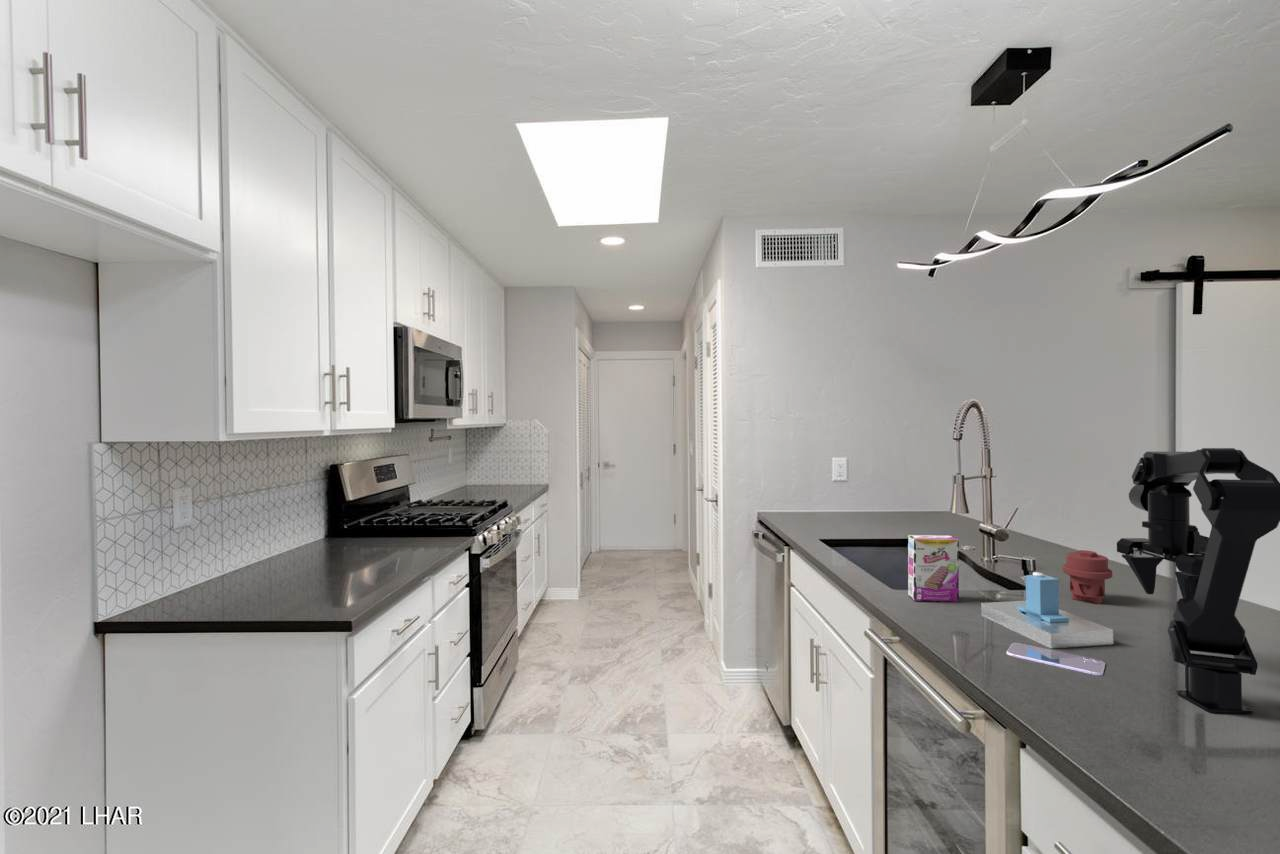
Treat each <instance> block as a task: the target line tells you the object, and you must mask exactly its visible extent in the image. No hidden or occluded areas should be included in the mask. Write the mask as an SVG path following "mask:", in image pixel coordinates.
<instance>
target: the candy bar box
mask: <svg viewBox="0 0 1280 854" xmlns="http://www.w3.org/2000/svg"><path fill="white" fill-rule="evenodd" d="M959 541H960V540H959V539H958V538H956V537H954V536H952V535H938V534H937V535H936V534H935V535H934V534H933V535H932V534H930V535H929V534H927V535H925V534H921V535H920V534H908V535H907V564H908V565H907V567H908V568H907V595H908V597H909V598H910V597H911V598H910V599H912V601H914V602H936V601H940V602H944V603H945V602H946V603H947V602H949V603H952V602H953V603H959V597H960V595H959V593H960V592H959V591H960V590H959V589H960V586H959V584H960V583H959V581H960V579H959V577H960V576H959V575H960V572H959V571H960V570H959V569H960V568H959V567H960V565H959V564H960V562H959V561H960V559H959V556H960V549H959V547H960V544H959V543H960V542H959Z"/></svg>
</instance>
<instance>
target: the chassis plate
mask: <svg viewBox="0 0 1280 854" xmlns="http://www.w3.org/2000/svg"><path fill="white" fill-rule="evenodd" d="M980 605H981V606H980V607H981V608H980V609H981V611H980V614H981V617H983V618H985V619H987V620H989V621H991V622H994V623H996V624H998V625H1000V626H1002V627H1005V628H1007V629H1008V630H1010V631H1013V632H1015V633H1017V634H1018V635H1021V636H1024V637H1025V638H1028V639H1029V640H1032V641H1034V642H1036V643H1038V644H1040V645H1043V646H1045V647H1047V648H1048V649H1050V650H1053V649H1063V648H1064V649H1065V648H1078V647H1079V648H1080V647H1081V648H1082V647H1092V646H1093V647H1094V646H1107V645H1108V646H1109V645H1114V629H1112V628H1109V627H1107V626H1104V625H1102V624H1098V623H1097V622H1093V621H1091V620H1088V619H1086V618H1083V617H1081V616H1078V615H1075V614H1073V613H1070V612H1068V611H1064V610H1062V609H1061V608H1059V614H1061V615H1063V616H1066V617H1068V618H1069V621H1068V622H1053V623H1050V622H1047V621H1039V620H1037V619H1034V618H1032V617H1030V616H1027V615H1025V612H1023V611H1021V610H1019V609H1018V608H1017V606H1019V605H1026V600H1014V601H997V602H981V603H980Z"/></svg>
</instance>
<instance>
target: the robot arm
mask: <svg viewBox="0 0 1280 854" xmlns="http://www.w3.org/2000/svg"><path fill="white" fill-rule="evenodd" d="M1214 474H1224V475H1225V474H1227V475H1229V474H1231V475H1233V474H1234V475H1235V477H1236V478H1237V479H1225V478H1224V479H1218V478H1217V479H1212V480H1209V479H1208V477H1207V476H1206V475H1214ZM1131 479H1132V482H1133V485H1134V486H1133V487H1132V488H1131V489H1130V490H1129V492H1128V499H1129V501H1130V503H1131V505H1133V506H1134V507H1135V508H1137V509H1139V510H1142V511H1144V512H1147V520H1146V521H1141V527H1142V528H1147V534H1148V536H1147V538H1145V537H1143V538H1141V537H1140V538H1138V537H1137V538H1136V537H1135V538H1134V537H1129V538H1128V537H1126V538H1124V537H1123V538H1120V539H1119V540H1118V541H1117V542H1116V552H1117V553H1120V554H1121V557H1122V558H1123V559H1124V560H1125V561H1126V563H1127V564H1128V565H1129V567H1130V568H1131V570H1132V572H1133V573H1134V575H1135V576H1136V577H1137V580H1138V582H1139V584H1140V585H1141V587H1142V588H1143V590H1144V592H1145V594H1147V595H1154V593H1155V588H1156V578H1157V567H1158V566H1159V564H1161V562H1163V560H1166V561H1169V562H1173V563H1175V567H1176V568H1177V570H1178V571H1174V575H1175V578H1176V582H1177V584H1178V586H1179V590H1180V593H1181V597H1182V598H1179V599H1178V600H1177V601H1176V606H1175V609H1174V610H1175V611H1174V613H1173V615H1172V617H1173V619H1172V620H1171V621H1170V622H1169V626H1168V628H1167V633H1168V637H1169V640H1170V646H1171V647H1170V648H1171V652H1172V653H1173V655H1172V656H1173V661H1174V662H1175V663H1178V664H1181V665H1183V666H1184V676H1185V680H1184V681H1185V682H1184V683H1185V685H1184V686H1185V687H1184V689H1185V690H1183V689H1179V690H1178V689H1177V690H1176V695H1178V696H1180V697H1182V698H1184V699H1185V700H1187V701H1189V702H1191V703H1193V705H1196V706H1198V707H1200V708H1202V709H1204V710H1205V711H1207V712H1209V713H1227V714H1228V713H1230V714H1231V713H1232V714H1253V713H1254V711H1253V709H1252V708H1250V707H1248V706H1246V705H1244V704H1243V692H1242V691H1243V686H1242V684H1243V683H1242V674H1249V675H1251V676H1256V674H1257V670H1258V662H1257V659H1256V658H1255V654H1254V653H1253V650H1252V648H1251V646H1250V643H1249V642H1248V639H1247V636H1246V630H1245V629H1244V627H1243V626H1242V624H1241V623H1240V621H1239V619H1238V618H1237V616H1236V613H1237V607H1238V604H1239V601H1240V598H1241V594H1242V591H1243V587H1244V584H1245V580H1246V577H1247V573H1248V571H1249V566H1250V564H1251V560H1252V557H1253V553H1254V549H1255V545H1256V543H1257V541H1258V540H1259V539H1261V538H1262V537H1265V535H1267V534H1269V533H1270V532H1272V531H1274V530H1275V529H1277V528H1278V527H1279V524H1280V481H1279V480H1278V478H1277V477H1276V476H1275V474H1274V473H1273V472H1271V471H1269V470H1267V469H1266V468H1264V467H1262V466H1260V465H1258V464H1257V463H1255V462H1253V461H1251V460H1249V459H1248V457H1247V456H1246V454H1245V453H1244V452H1243V451H1242V450H1241V449H1236V448H1233V447H1232V448H1231V447H1227V448H1226V447H1202V448H1201V449H1196V450H1193V451H1145V452H1144V453H1143V455H1142V456H1141V457H1140V458H1139V459H1138V463H1136V466H1135V468H1134V470H1133V473H1132V475H1131ZM1193 481H1195V482H1194V485H1193V486H1192V490H1193V492H1194V494H1195V496H1196V499H1198V501H1199V503H1200V507H1201V511H1202V512H1203V514H1204V516H1205V517H1206V519H1207V520H1208V522H1209V523H1210V525H1211V529H1210V532H1209V533H1210V534H1209V536H1205V535H1202V534H1200V531H1199V528H1198V527H1197V525H1193V524H1190V523H1191V522H1190V521H1191V520H1190V498H1192V497H1193V494H1192V493H1191V490H1189V489H1188V488H1187V487H1188V486H1190V484H1191V483H1192V482H1193ZM1195 652H1199V653H1195ZM1201 653H1209V654H1211V655H1209V654H1201ZM1212 654H1218V656H1217V655H1212ZM1219 655H1226V656H1219ZM1227 655H1228V656H1233V657H1227Z"/></svg>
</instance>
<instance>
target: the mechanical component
mask: <svg viewBox="0 0 1280 854" xmlns="http://www.w3.org/2000/svg"><path fill="white" fill-rule="evenodd" d="M1065 557H1066V563H1065V564H1063V565H1062V572H1063V573H1064V574H1066V575H1067V576H1069V591H1070V593H1071V599H1072V600H1074V601H1084V602H1087V603H1088V602H1089V603H1093V604H1097V605H1099V604H1100V605H1101V604H1102V603H1103V600H1102V599H1103V598H1104V597H1106V581H1105V580H1110V579H1111V578H1113V570H1112V569H1110V568H1109V558H1108V557H1107V556H1104V555H1101V554H1099V553H1097V552H1096V551H1093V550H1084V549H1083V550H1081V549H1080V550H1077V551H1074V552H1068V553H1066V555H1065Z"/></svg>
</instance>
